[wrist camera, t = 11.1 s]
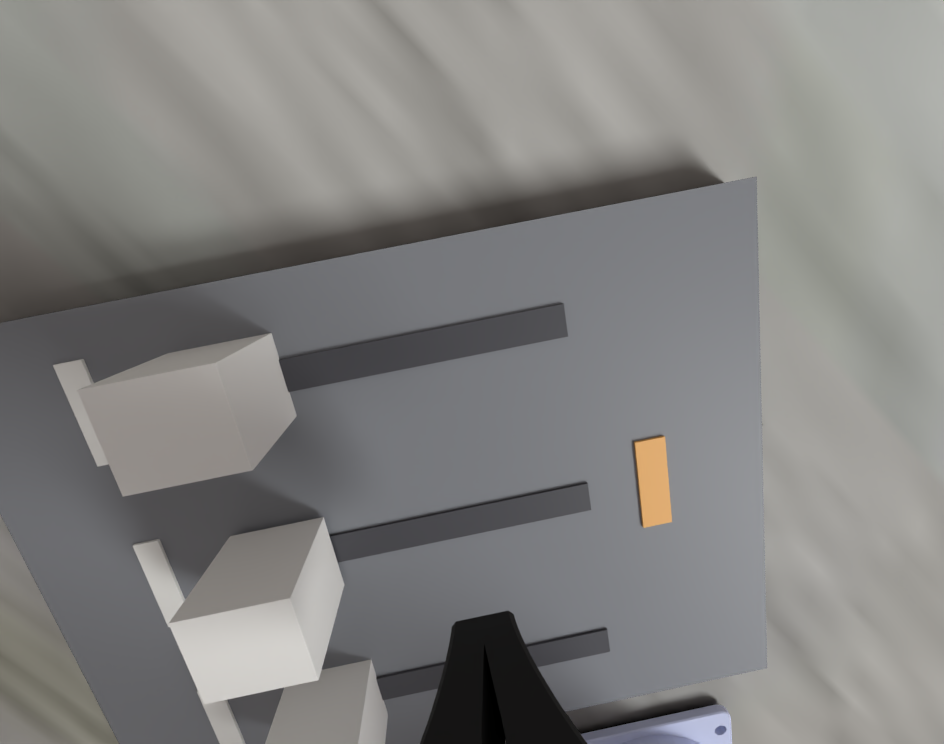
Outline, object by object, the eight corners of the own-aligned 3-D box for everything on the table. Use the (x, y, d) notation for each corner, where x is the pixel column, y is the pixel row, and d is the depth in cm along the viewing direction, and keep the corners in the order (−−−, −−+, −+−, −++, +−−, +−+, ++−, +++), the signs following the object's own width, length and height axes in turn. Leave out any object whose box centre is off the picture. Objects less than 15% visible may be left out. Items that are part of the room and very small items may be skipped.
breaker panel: (743, 637, 20) (844, 766, 15) (170, 760, 19) (80, 936, 14) (725, 182, 15) (866, 153, 10) (-38, 330, 14) (-281, 374, 10)
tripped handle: (344, 584, 16) (318, 680, 12) (255, 603, 16) (204, 704, 12) (323, 516, 15) (290, 597, 12) (229, 536, 15) (168, 623, 12)
